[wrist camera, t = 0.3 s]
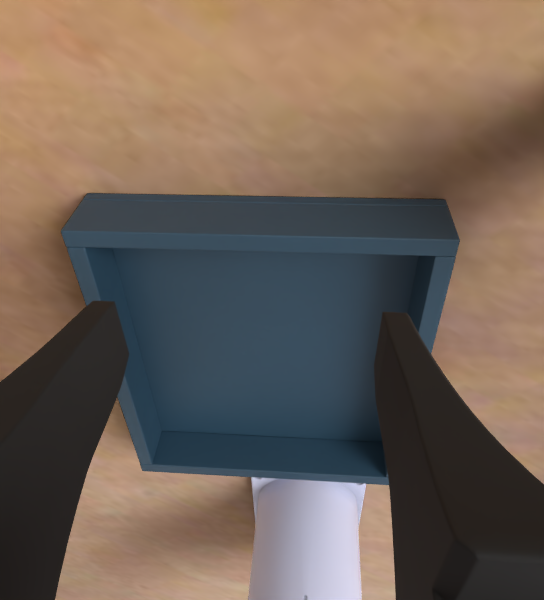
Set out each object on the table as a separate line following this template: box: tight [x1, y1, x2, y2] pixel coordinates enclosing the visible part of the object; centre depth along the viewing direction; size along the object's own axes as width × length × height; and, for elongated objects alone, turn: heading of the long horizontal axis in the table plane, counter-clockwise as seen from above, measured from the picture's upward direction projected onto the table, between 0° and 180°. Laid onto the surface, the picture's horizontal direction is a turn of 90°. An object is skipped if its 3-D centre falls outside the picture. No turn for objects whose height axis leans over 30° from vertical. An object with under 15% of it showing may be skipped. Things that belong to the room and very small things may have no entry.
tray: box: [61, 193, 460, 485], centre depth 27 cm, size 18×16×3 cm
